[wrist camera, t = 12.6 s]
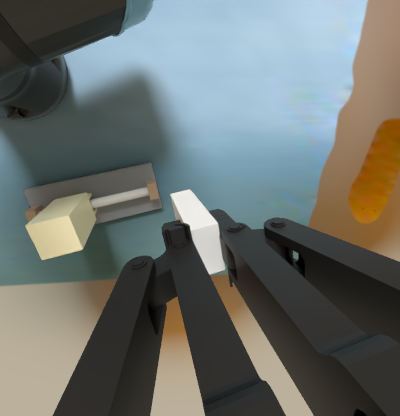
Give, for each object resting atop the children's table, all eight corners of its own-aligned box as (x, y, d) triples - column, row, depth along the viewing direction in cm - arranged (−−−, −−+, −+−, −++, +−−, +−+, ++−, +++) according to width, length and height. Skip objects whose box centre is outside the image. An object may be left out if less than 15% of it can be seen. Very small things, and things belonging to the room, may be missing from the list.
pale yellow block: (70, 220, 42) (42, 260, 30) (59, 195, 40) (24, 225, 28) (98, 213, 43) (82, 249, 30) (89, 188, 41) (68, 215, 29)
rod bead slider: (47, 233, 44) (36, 246, 39) (26, 188, 40) (11, 196, 36) (161, 205, 47) (164, 213, 43) (151, 162, 44) (152, 166, 39)
